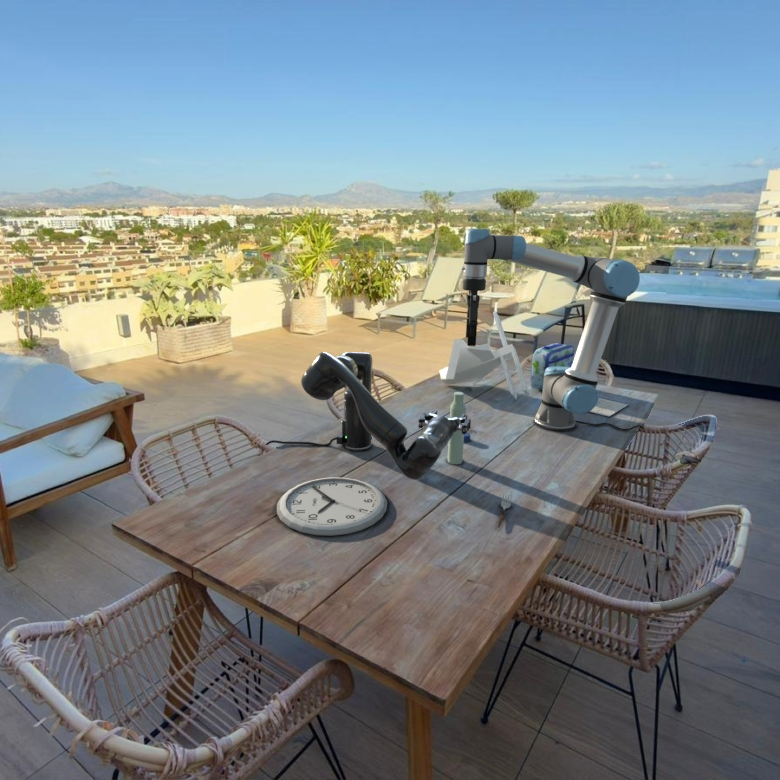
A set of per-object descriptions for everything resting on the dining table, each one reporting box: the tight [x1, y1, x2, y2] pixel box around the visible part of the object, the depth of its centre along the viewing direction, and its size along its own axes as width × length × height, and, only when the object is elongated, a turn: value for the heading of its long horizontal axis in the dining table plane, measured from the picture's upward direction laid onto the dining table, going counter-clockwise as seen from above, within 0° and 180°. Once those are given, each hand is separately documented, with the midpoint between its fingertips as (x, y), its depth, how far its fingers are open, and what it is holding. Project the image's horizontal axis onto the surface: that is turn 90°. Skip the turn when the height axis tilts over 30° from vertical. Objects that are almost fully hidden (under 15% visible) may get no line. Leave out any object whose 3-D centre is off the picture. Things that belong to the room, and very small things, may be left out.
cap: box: [464, 431, 471, 443], centre depth 188 cm, size 4×4×2 cm
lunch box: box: [530, 342, 575, 391], centre depth 250 cm, size 26×11×21 cm, turn 134°
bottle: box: [447, 391, 467, 465], centre depth 168 cm, size 5×5×23 cm
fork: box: [497, 493, 513, 528], centre depth 139 cm, size 3×16×2 cm, turn 160°
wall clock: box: [276, 476, 388, 537], centre depth 142 cm, size 30×2×30 cm
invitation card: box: [588, 397, 629, 418], centre depth 226 cm, size 21×1×15 cm
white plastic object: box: [438, 310, 531, 400], centre depth 245 cm, size 37×45×31 cm
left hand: (450, 415), depth 155 cm, fingers open, 8 cm apart
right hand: (470, 341), depth 178 cm, fingers open, 13 cm apart
